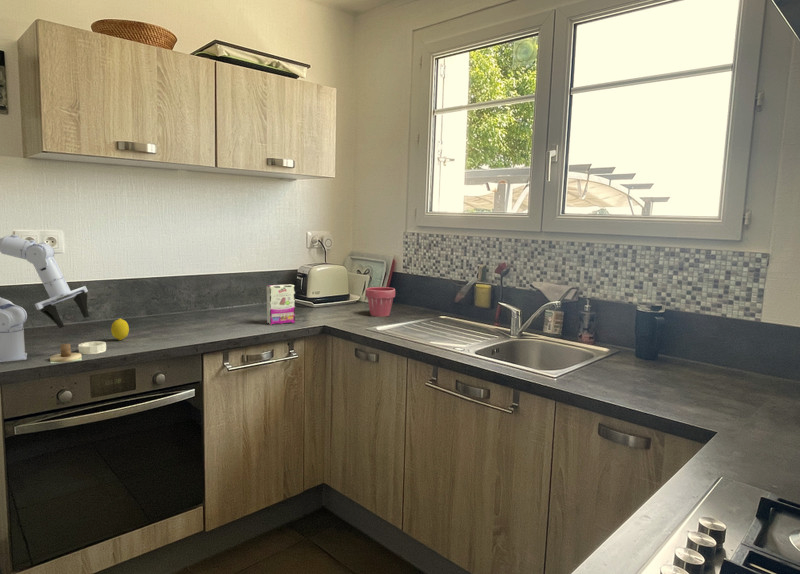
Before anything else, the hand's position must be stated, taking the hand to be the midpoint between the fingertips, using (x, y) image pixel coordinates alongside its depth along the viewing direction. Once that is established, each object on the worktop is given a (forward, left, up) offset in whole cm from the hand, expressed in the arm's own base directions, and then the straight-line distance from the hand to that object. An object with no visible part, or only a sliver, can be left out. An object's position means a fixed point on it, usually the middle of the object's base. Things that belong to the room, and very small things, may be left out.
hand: (74, 322), depth 165 cm
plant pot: (+125, +25, -11) cm, 128 cm away
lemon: (+14, +19, -11) cm, 26 cm away
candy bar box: (+76, +26, -11) cm, 81 cm away
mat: (-3, -1, -11) cm, 11 cm away
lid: (-3, -1, -11) cm, 11 cm away
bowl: (+5, +5, -11) cm, 13 cm away
